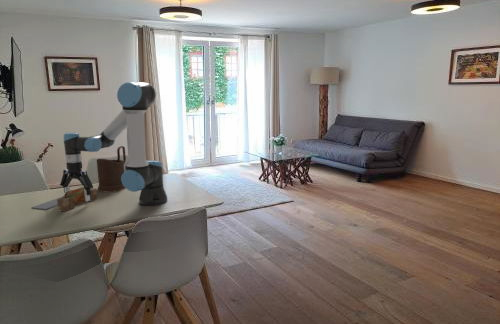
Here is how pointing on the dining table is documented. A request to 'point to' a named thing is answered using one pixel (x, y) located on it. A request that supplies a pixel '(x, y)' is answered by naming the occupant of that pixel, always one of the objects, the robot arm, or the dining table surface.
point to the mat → (47, 205)
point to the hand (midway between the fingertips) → (77, 199)
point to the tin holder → (67, 203)
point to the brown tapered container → (111, 173)
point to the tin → (76, 195)
